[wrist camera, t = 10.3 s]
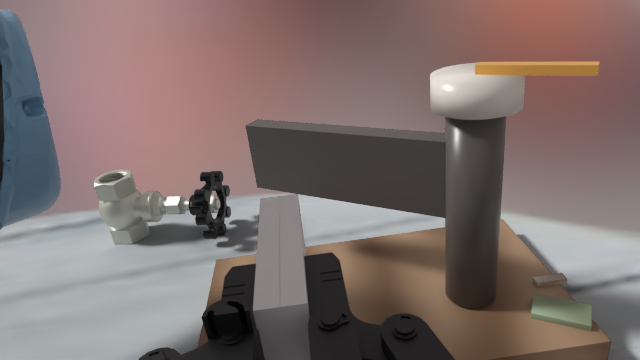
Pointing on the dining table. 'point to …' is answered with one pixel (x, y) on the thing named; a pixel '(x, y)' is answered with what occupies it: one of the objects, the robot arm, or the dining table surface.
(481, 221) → the dark piece
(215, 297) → the board
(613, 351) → the dining table surface
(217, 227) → the valve
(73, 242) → the dining table surface
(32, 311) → the dining table surface
